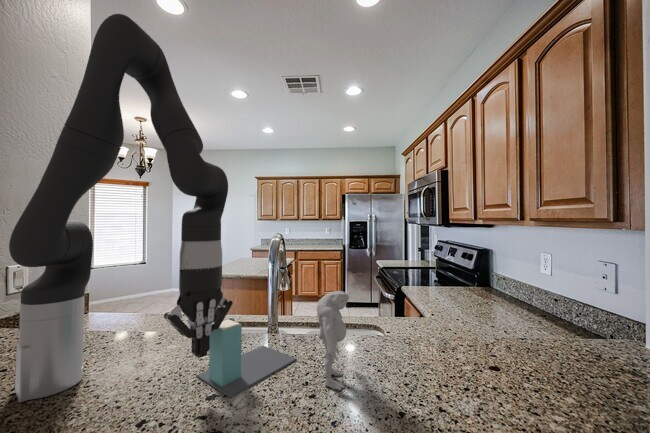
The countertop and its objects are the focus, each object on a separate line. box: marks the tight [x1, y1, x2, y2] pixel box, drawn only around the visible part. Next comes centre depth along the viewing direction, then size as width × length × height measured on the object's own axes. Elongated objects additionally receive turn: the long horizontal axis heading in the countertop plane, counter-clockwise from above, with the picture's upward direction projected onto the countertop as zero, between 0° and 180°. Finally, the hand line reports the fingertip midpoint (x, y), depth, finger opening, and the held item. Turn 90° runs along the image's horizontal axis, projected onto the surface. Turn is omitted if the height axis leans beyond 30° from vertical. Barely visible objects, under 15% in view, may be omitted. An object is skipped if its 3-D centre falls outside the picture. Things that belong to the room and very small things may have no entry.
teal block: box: [208, 319, 243, 387], centre depth 57 cm, size 4×4×11 cm
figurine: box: [316, 290, 350, 392], centre depth 57 cm, size 18×7×18 cm, turn 1°
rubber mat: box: [196, 345, 298, 399], centre depth 62 cm, size 18×12×1 cm, turn 143°
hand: (200, 355), depth 52 cm, fingers closed
